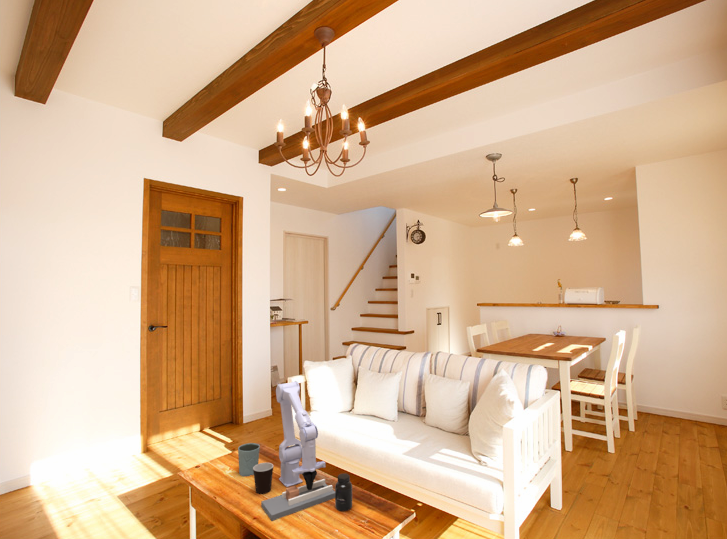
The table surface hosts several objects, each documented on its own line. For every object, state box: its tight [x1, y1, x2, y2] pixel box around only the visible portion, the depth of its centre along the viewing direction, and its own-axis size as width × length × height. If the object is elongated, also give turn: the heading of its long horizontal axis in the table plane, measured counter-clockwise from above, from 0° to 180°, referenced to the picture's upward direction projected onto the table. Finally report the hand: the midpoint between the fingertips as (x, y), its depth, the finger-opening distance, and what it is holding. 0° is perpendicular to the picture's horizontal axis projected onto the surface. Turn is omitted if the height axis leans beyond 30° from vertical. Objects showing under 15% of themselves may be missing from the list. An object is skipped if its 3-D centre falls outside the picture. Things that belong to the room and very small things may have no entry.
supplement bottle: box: [334, 473, 353, 512], centre depth 151 cm, size 7×7×12 cm
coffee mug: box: [253, 462, 274, 495], centre depth 166 cm, size 12×9×10 cm
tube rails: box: [281, 478, 334, 506], centre depth 157 cm, size 8×20×2 cm, turn 124°
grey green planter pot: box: [237, 442, 261, 477], centre depth 182 cm, size 10×10×12 cm
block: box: [285, 485, 299, 500], centre depth 153 cm, size 4×4×4 cm
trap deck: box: [260, 482, 335, 522], centre depth 155 cm, size 12×28×2 cm, turn 124°
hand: (309, 488), depth 157 cm, fingers closed
